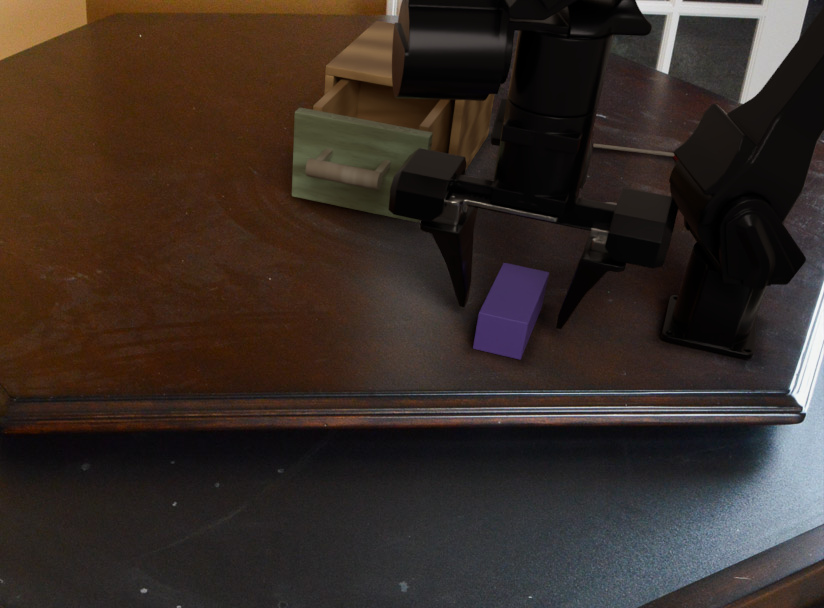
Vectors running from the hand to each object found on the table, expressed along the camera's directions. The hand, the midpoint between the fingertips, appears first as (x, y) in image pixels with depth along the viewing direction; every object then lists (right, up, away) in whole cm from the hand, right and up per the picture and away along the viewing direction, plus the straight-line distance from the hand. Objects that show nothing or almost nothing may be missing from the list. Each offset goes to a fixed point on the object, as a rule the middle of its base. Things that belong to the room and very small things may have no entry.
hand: (510, 315), depth 77 cm
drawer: (-10, +14, +15) cm, 23 cm away
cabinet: (-6, +20, +24) cm, 32 cm away
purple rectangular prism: (0, -1, +1) cm, 1 cm away
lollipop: (+20, +20, +27) cm, 39 cm away
